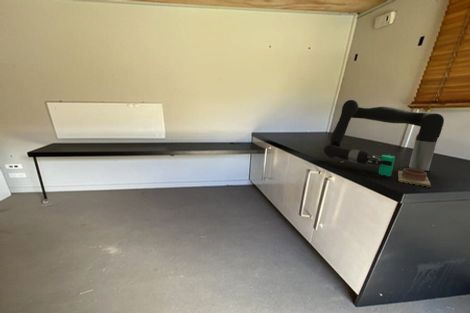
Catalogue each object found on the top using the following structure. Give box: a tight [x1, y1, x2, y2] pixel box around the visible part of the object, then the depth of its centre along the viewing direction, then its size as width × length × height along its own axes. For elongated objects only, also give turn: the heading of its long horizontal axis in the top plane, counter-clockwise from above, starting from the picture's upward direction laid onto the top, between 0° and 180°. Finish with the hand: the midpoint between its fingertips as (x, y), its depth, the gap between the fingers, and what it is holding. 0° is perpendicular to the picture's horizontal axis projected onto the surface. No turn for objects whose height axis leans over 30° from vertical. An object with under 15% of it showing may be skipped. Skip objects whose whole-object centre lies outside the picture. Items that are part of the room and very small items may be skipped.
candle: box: [378, 154, 396, 177], centre depth 112 cm, size 6×6×12 cm
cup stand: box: [397, 167, 432, 188], centre depth 106 cm, size 18×12×4 cm, turn 142°
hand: (393, 162), depth 110 cm, fingers open, 5 cm apart
